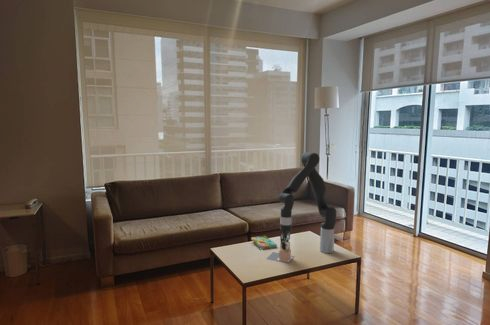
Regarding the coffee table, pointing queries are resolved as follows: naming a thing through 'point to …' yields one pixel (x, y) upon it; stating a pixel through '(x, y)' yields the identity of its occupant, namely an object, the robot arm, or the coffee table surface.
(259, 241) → the puzzle game
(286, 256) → the terracotta base block
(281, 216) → the robot arm
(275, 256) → the blueprint board
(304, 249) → the coffee table surface
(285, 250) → the maple cube
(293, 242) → the coffee table surface
